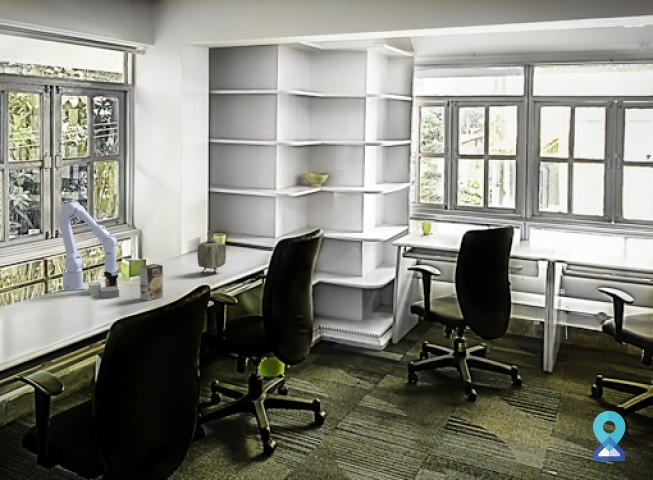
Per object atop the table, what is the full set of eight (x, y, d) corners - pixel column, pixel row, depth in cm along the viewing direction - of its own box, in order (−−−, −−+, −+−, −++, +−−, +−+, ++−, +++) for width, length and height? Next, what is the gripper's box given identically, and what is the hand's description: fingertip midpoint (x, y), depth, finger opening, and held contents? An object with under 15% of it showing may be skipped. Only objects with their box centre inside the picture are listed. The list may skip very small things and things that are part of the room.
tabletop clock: (215, 270, 415) (215, 227, 411) (227, 272, 410) (227, 229, 406) (197, 274, 404) (197, 230, 399) (209, 276, 399) (208, 232, 394)
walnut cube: (107, 291, 363) (107, 281, 362) (105, 288, 367) (105, 279, 366) (117, 290, 365) (117, 280, 364) (115, 287, 370) (115, 278, 369)
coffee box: (149, 301, 346) (148, 268, 343) (140, 298, 349) (139, 266, 346) (163, 297, 353) (162, 265, 350) (154, 295, 357) (153, 263, 354)
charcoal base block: (102, 299, 348) (102, 291, 347) (98, 295, 355) (98, 287, 354) (119, 297, 352) (118, 289, 351) (115, 294, 359) (114, 286, 358)
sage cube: (90, 295, 354) (90, 285, 354) (88, 292, 359) (88, 283, 358) (101, 294, 357) (100, 284, 356) (99, 292, 361) (98, 282, 360)
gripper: (121, 262, 359) (122, 289, 362) (115, 257, 372) (116, 282, 374) (107, 263, 356) (108, 290, 358) (101, 258, 369) (102, 284, 371)
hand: (111, 286), depth 366 cm, fingers closed on walnut cube, 5 cm apart
